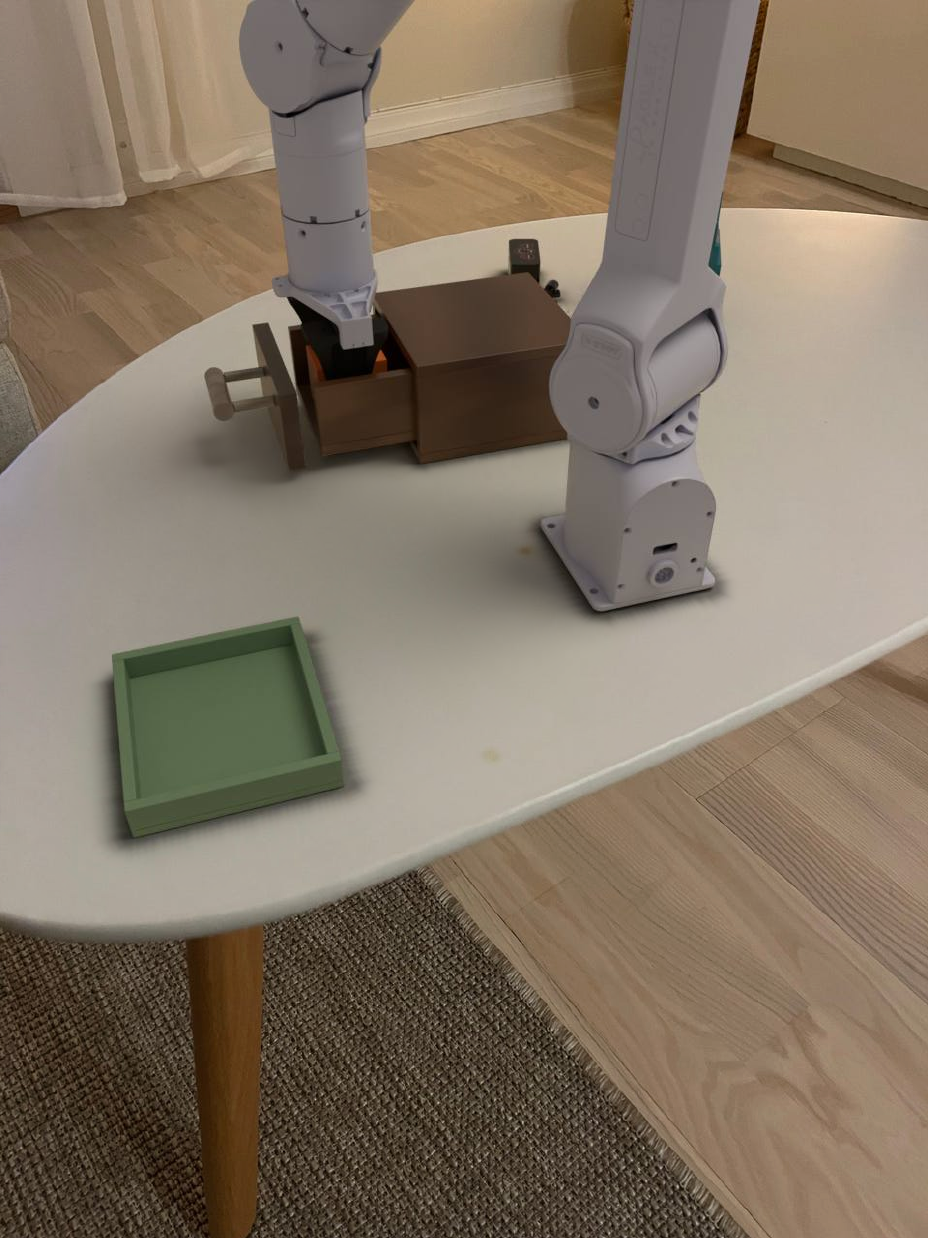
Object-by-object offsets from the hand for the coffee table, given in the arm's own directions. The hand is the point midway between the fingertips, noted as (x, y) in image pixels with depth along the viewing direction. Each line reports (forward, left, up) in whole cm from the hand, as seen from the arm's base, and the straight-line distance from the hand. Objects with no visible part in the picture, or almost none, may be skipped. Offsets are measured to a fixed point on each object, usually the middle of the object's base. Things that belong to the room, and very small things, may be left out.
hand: (343, 397), depth 74 cm
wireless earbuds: (+20, -22, -3) cm, 30 cm away
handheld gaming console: (+10, -33, -3) cm, 35 cm away
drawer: (0, +2, -2) cm, 2 cm away
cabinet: (0, -10, -3) cm, 11 cm away
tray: (-28, +13, -3) cm, 31 cm away
